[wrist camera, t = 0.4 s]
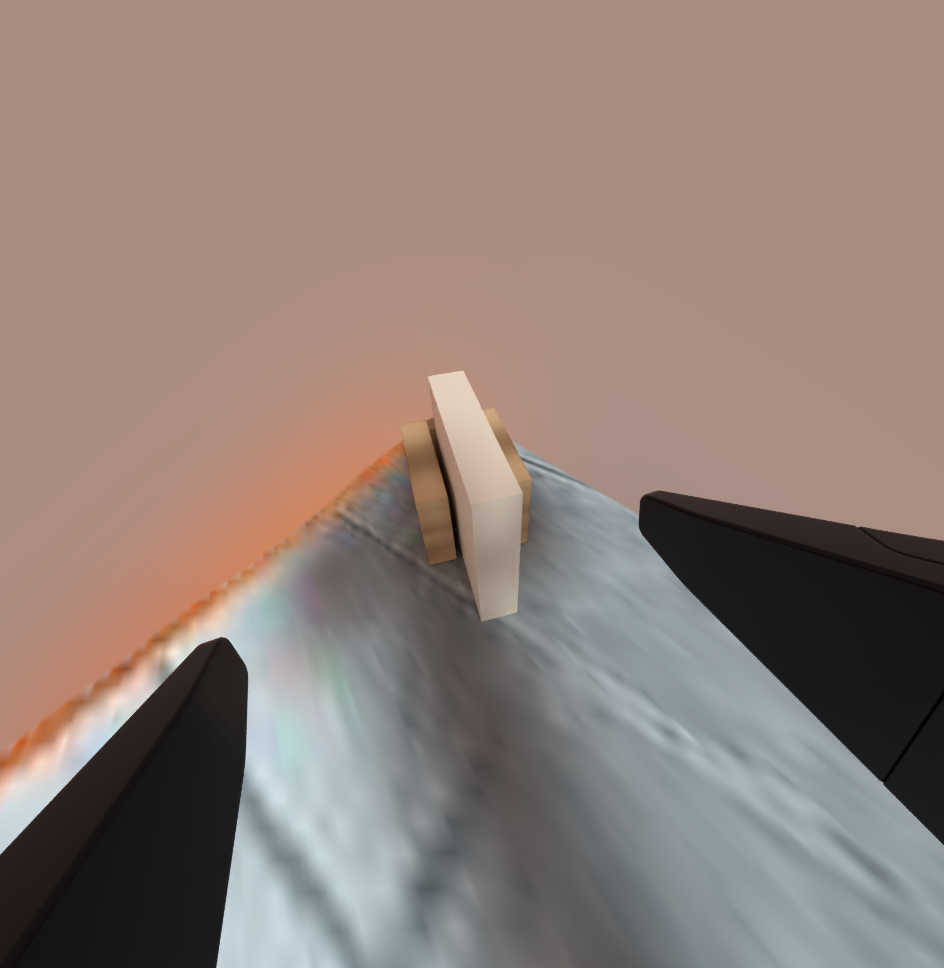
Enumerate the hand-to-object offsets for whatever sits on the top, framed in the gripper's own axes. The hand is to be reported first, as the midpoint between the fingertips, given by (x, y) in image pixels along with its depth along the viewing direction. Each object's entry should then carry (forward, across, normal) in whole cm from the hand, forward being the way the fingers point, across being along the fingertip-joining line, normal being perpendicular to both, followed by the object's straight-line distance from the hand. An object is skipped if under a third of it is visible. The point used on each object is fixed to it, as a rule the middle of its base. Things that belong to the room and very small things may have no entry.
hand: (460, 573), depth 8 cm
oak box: (+20, -4, +11) cm, 23 cm away
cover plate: (+17, -4, +12) cm, 21 cm away
